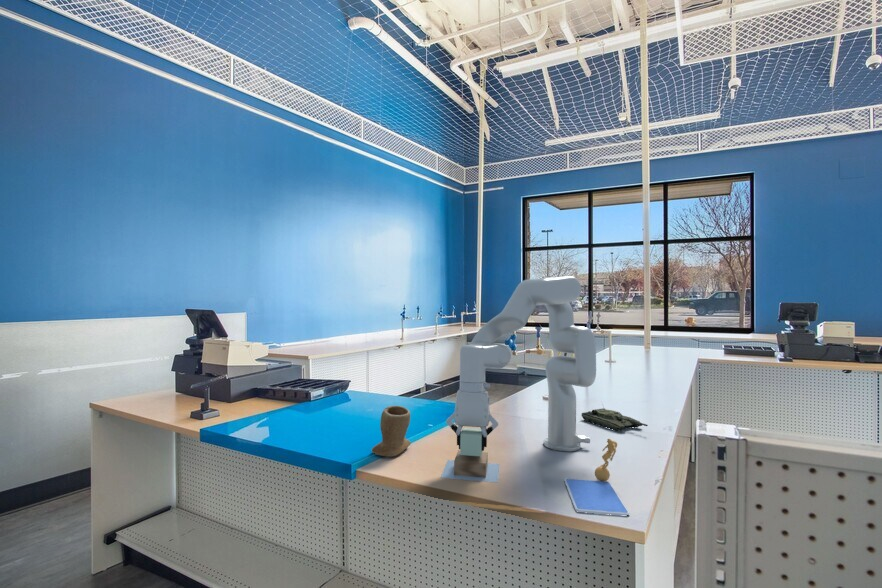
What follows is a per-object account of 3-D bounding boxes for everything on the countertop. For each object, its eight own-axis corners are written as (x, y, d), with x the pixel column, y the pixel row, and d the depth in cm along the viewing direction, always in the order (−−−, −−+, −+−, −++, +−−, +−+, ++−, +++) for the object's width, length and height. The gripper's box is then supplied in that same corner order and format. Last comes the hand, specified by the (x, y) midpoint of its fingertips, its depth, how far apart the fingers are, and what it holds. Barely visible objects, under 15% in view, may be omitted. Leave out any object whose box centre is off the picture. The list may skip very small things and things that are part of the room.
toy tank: (603, 417, 193) (603, 394, 193) (659, 434, 168) (659, 409, 168) (579, 420, 187) (579, 397, 187) (634, 439, 162) (634, 412, 162)
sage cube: (482, 449, 129) (482, 429, 129) (481, 456, 123) (481, 435, 123) (462, 448, 130) (462, 428, 130) (460, 454, 124) (460, 433, 124)
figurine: (591, 474, 126) (591, 433, 127) (612, 476, 126) (613, 434, 126) (598, 486, 118) (598, 442, 118) (621, 488, 117) (621, 443, 118)
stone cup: (399, 462, 134) (400, 413, 135) (366, 456, 139) (367, 409, 139) (420, 447, 148) (420, 403, 149) (389, 442, 153) (390, 400, 153)
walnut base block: (487, 465, 130) (487, 452, 130) (485, 477, 121) (485, 463, 121) (458, 463, 131) (458, 450, 132) (453, 475, 123) (454, 460, 123)
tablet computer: (563, 482, 122) (563, 477, 122) (610, 485, 121) (610, 480, 121) (575, 514, 103) (575, 509, 103) (631, 519, 101) (631, 513, 101)
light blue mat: (499, 466, 132) (499, 463, 132) (497, 485, 118) (497, 482, 118) (447, 462, 134) (447, 459, 134) (440, 480, 121) (440, 477, 121)
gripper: (502, 385, 129) (501, 446, 129) (445, 383, 132) (444, 442, 132) (501, 390, 122) (500, 455, 121) (441, 388, 125) (440, 450, 124)
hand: (471, 447), depth 126 cm, fingers closed on sage cube, 6 cm apart
